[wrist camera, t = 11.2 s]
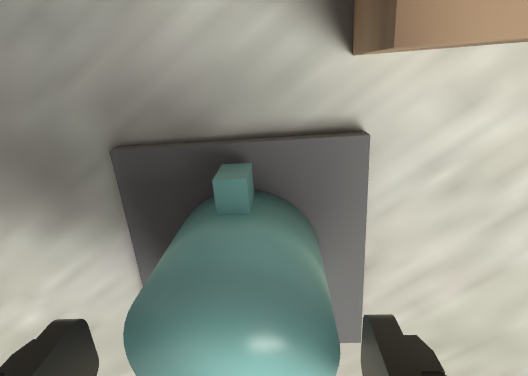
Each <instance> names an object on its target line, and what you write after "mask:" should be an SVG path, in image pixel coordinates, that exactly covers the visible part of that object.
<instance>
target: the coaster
mask: <svg viewBox="0 0 528 376" xmlns="http://www.w3.org/2000/svg"><path fill="white" fill-rule="evenodd" d="M369 149H370V134H368V133H367V132H351V133H334V134H318V135H302V136H285V137H269V138H252V139H236V140H220V141H203V142H187V143H170V144H154V145H138V146H121V147H116V148H114V149H112V150H110V155H111V159H112V163H113V167H114V171H115V175H116V179H117V183H118V187H119V191H120V195H121V199H122V203H123V207H124V211H125V215H126V219H127V223H128V227H129V231H130V235H131V239H132V243H133V247H134V251H135V256H136V260H137V264H138V268H139V272H140V276H141V280H142V284H143V286H144V285H145V283H146V282H147V280H148V278H149V277H150V275H151V274H152V272H153V270H154V269H155V267H156V266H157V264H158V263H159V261H160V259H161V258H162V256H163V255H164V253H165V251H166V250H167V248H168V247H169V245H170V244H171V242H172V240H173V239H174V237H175V236H176V234H177V232H178V231H179V229H180V228H181V226H182V225H183V223H184V221H185V220H186V218H187V217H188V216H189V214H190V213H191V212H192V211H193V210H194V209H195V208H196V207H197V206H198V205H200V204H201V203H202V202H204V201H205V200H207V199H209V198H211V197H213V196H214V190H213V183H212V180H213V178H214V177H215V175H216V173H217V172H218V170H219V168H220V167H221V165H222V164H239V163H252V174H253V186H254V190H256V191H262V192H266V193H270V194H273V195H275V196H278V197H280V198H282V199H284V200H286V201H288V202H289V203H291V204H292V205H294V206H295V207H296V208H298V209H299V210H300V211H301V212H302V213H303V214H304V215H305V216H306V218H307V219H308V220H309V222H310V223H311V225H312V226H313V228H314V230H315V232H316V235H317V237H318V241H319V245H320V250H321V255H322V260H323V264H324V269H325V274H326V279H327V284H328V289H329V294H330V298H331V303H332V308H333V313H334V318H335V323H336V328H337V332H338V337H339V342H340V343H361V326H362V304H363V282H364V260H365V237H366V215H367V193H368V171H369Z"/></svg>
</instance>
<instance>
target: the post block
mask: <svg viewBox="0 0 528 376" xmlns="http://www.w3.org/2000/svg"><path fill="white" fill-rule="evenodd" d="M515 42H528V0H354V32H353V55H363V54H376V53H389V52H401V51H414V50H427V49H439V48H452V47H465V46H477V45H490V44H502V43H515Z"/></svg>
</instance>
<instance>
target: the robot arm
mask: <svg viewBox="0 0 528 376" xmlns="http://www.w3.org/2000/svg"><path fill="white" fill-rule="evenodd" d="M98 367H99V358H98V354H97V351H96V348H95V345H94V342H93V339H92V336H91V333H90V329H89V326H88V324H87V322H86V321H85V320H84V319H58V320H54V321H53V322H51V323H50V324H49V325H48V326H47V327H46V329H45V330H44V331H43V332H42V333H41V334H40V335H39V336H38V337H37V339H33V340H32V341H30V342H29V343H27V344H26V345H25V346H23V347H22V348H21V349H19V350H18V351H16V352H15V353H14V354H12V355H11V356H10V357H9V358H8V360H7V361H6V362H5V363H4V364H3V365H2V366H1V367H0V376H97V372H98ZM361 367H362V374H363V376H447V375H445V371H444V369H443V368H442V366H441V364H440V362H439V360H438V359H437V357H436V355H435V353H434V351H433V350H432V349H430V348H429V347H428V346H427V345H426V344H425V343H424V342H423V341H422V340H421V339H420V338H419V337H418V336H417V335H403V333H402V331H401V329H400V327H399V325H398V323H397V321H396V319H395V317H394V316H393V315H364V317H363V329H362V345H361Z"/></svg>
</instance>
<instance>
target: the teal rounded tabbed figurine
mask: <svg viewBox="0 0 528 376" xmlns="http://www.w3.org/2000/svg"><path fill="white" fill-rule="evenodd" d="M212 183H213V190H214V196H213V197H211V198H209V199H207V200H205V201H204V202H202V203H201V204H200V205H198V206H197V207H196V208H195V209H194V210H193V211H192V212H191V213H190V214H189V216H188V217H187V218H186V220H185V221H184V223H183V225H182V226H181V228H180V229H179V231H178V232H177V234H176V236H175V237H174V239H173V240H172V242H171V244H170V245H169V247H168V248H167V250H166V251H165V253H164V255H163V256H162V258H161V259H160V261H159V263H158V264H157V266H156V267H155V269H154V270H153V272H152V274H151V275H150V277H149V278H148V280H147V282H146V283H145V285H144V286H143V288H142V289H141V291H140V293H139V294H138V296H137V297H136V299H135V301H134V302H133V304H132V306H131V308H130V310H129V312H128V314H127V317H126V321H125V325H124V333H123V335H124V347H125V351H126V355H127V358H128V361H129V363H130V365H131V367H132V369H133V371H134V372H135V374H136V376H335V375H336V373H337V369H338V366H339V360H340V342H339V337H338V332H337V328H336V323H335V318H334V313H333V308H332V303H331V298H330V294H329V289H328V284H327V279H326V274H325V269H324V264H323V260H322V255H321V250H320V245H319V241H318V237H317V235H316V232H315V230H314V228H313V226H312V225H311V223H310V222H309V220H308V219H307V218H306V216H305V215H304V214H303V213H302V212H301V211H300V210H299V209H298V208H296V207H295V206H294V205H292V204H291V203H289V202H288V201H286V200H284V199H282V198H280V197H278V196H275V195H273V194H270V193H266V192H262V191H256V190H254V186H253V174H252V163H239V164H222V165H221V167H220V168H219V170H218V172H217V173H216V175H215V177H214V178H213V180H212Z"/></svg>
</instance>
